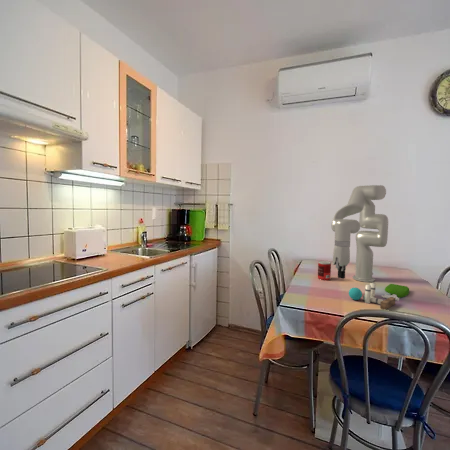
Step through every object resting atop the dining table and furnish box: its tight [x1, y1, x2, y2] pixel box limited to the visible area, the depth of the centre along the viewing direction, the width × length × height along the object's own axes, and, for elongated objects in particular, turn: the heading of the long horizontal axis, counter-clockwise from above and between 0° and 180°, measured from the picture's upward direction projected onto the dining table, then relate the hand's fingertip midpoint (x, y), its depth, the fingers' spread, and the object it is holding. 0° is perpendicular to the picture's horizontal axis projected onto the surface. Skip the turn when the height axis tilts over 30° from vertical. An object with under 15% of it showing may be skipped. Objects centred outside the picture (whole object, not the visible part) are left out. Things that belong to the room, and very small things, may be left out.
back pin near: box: [364, 284, 371, 304], centre depth 125 cm, size 2×2×8 cm
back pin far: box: [369, 282, 377, 298], centre depth 128 cm, size 2×2×8 cm
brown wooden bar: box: [380, 297, 396, 310], centre depth 120 cm, size 12×2×3 cm, turn 129°
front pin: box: [362, 294, 385, 305], centre depth 125 cm, size 2×2×8 cm
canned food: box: [317, 260, 332, 281], centre depth 167 cm, size 8×8×11 cm
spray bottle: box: [381, 283, 410, 302], centre depth 139 cm, size 3×11×24 cm
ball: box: [348, 287, 363, 301], centre depth 129 cm, size 6×6×6 cm
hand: (341, 277), depth 139 cm, fingers closed
